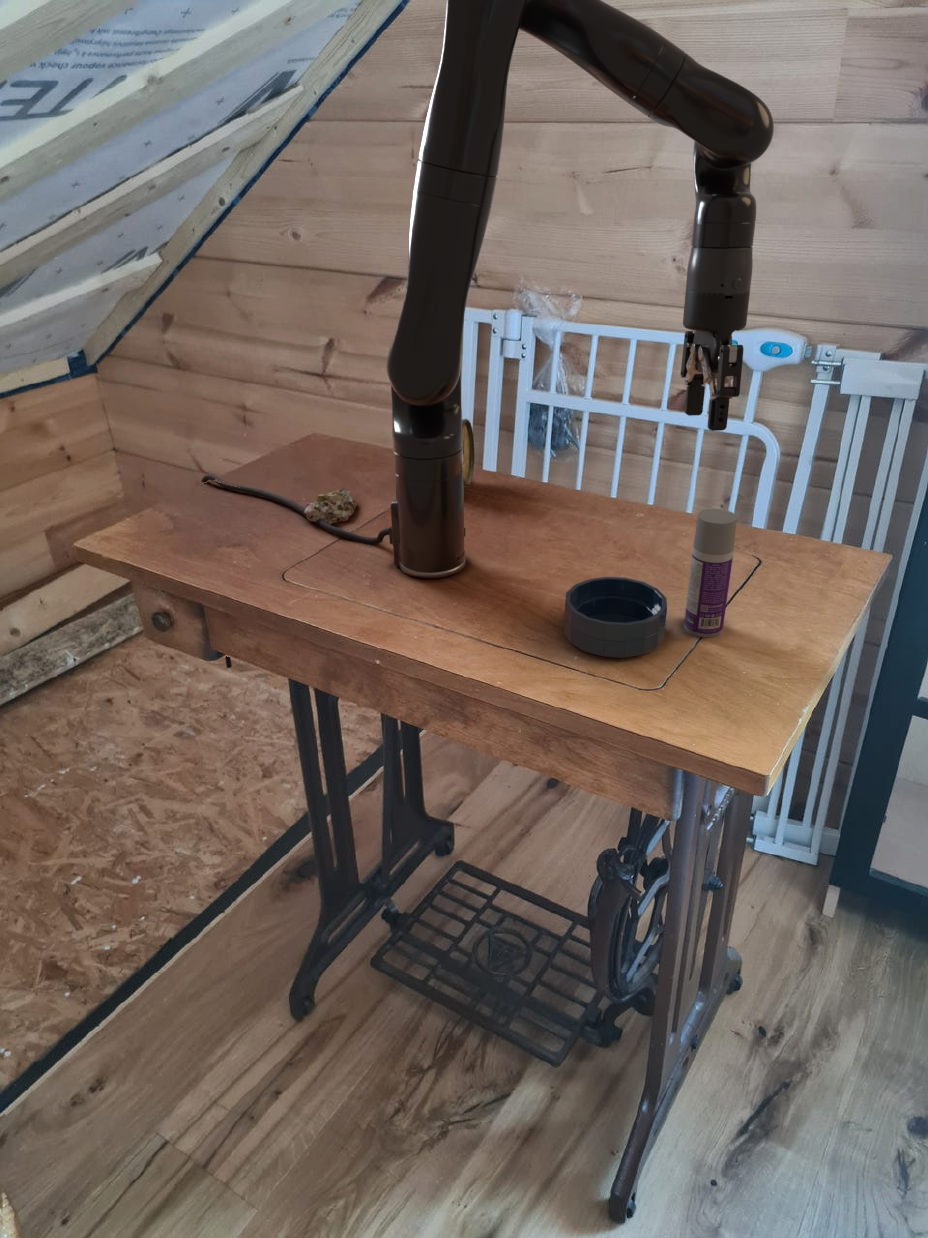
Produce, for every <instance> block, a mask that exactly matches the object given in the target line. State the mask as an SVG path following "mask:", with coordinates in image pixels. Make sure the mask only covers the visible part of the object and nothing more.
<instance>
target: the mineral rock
mask: <svg viewBox="0 0 928 1238" xmlns="http://www.w3.org/2000/svg"><path fill="white" fill-rule="evenodd" d="M356 507H357V503H356V500H355V499H354V495H353V494H352V491H349V490H348V489H346V488H339V489H335V490H333V491H329V492H328V493H326V494H325V493H324V494H323V493H318V495H317V498H316V499H315V501H313V502H309V503H307V504H306V505H305V506H304V508H305V509H304V514H306V515H307V516H305V515H304V517H305V518H306V519H307V520H308V522H309V521H310V522H313V523H316V522H315V521H317V520H319V519H321V520H323V521H325V522H326V523H328V524H330V525H332V524H337V523H340V522H346V521H348V520H349V517H352V515H353V514H354V512H355V511H356Z"/></svg>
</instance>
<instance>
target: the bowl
mask: <svg viewBox="0 0 928 1238" xmlns="http://www.w3.org/2000/svg"><path fill="white" fill-rule="evenodd" d="M667 613H668V601H667V597H666V596H665V594H663V592H662V591H661V590H659V589H658V588H657V587H655V586H653V585H651V584H649V583H647V582H645V581H641V580H637V579H632V578H629V577H618V576H602V577H594V578H589V579H585V580H582V581H581V582H578V583H576V584H573V586H571V587H570V589H568V590H567V591H566V592H565V600H564V620H563V635H564V636H565V637H566V639H567V640H568V642H569V643H570V644H571V645H573V646H574V647H577V648H578V649H580V650H581V651H583V652H586V653H589V654H592V655H594V656H597V657H598V656H599V657H604V658H610V659H623V658H626V659H627V658H632V657H636V656H643V655H645V654H647V653H648V654H649V653H650V652H652V651H654V650H656V649H657V648H659V647H660V645H661V644H662V643H663V641H664V640H665V634H666V633H665V632H666V624H667V623H666V622H667Z"/></svg>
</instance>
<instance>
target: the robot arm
mask: <svg viewBox="0 0 928 1238" xmlns="http://www.w3.org/2000/svg"><path fill="white" fill-rule="evenodd" d="M445 9H446V10H445V22H444V34H443V41H442V50H441V56H440V62H439V68H438V70H437V75H436V79H435V82H434V86H433V90H432V94H431V97H430V101H429V104H428V110H427V114H426V117H425V122H424V126H423V131H422V136H421V140H420V145H419V150H418V155H417V162H416V168H415V176H414V180H413V181H414V182H413V187H412V196H411V207H410V217H409V230H408V231H409V233H408V249H407V250H408V255H407V277H406V284H405V285H406V286H405V291H404V297H403V303H402V306H401V310H400V315H399V318H398V323H397V327H396V331H395V334H394V336H393V338H392V340H391V343H390V345H389V349H388V354H387V358H386V373H387V377H388V380H389V384H390V392H391V393H390V394H391V436H392V450H393V451H392V452H393V467H394V481H395V482H394V483H395V498H396V499H394V500H393V501H391V503H390V518H391V519H390V520H391V526H390V527H387V528H383V529H381V530H380V531H379V532H378V534H377V537H366V536H362V535H357V534H355V533H352V532H349V531H347V530H344V529H341V528H339V527H336V526H334V525H332V524H328V523H326V522H325V521H323V520H321V519H319V520H317V521H315V522H314V523H316V524H317V525H318V526H320V527H321V528H323V529H324V530H327V531H328V532H330V533H332V534H335V535H338V536H340V537H342V538H345V539H347V540H350V541H354V542H358V543H361V544H362V543H363V544H367V545H378V544H380V543H382V542H383V541H384V539H385V537H386V536H388V537H389V544H390V545H392V551H393V565H394V566H396V567H399V568H400V570H401V571H402V572H404V573H405V574H407V575H409V576H412V577H415V578H421V579H440V578H446V577H450V576H453V575H456V574H457V573H460V572H461V571H462V570H463V569H465V566H466V550H465V538H466V536H467V535H466V527H465V502H464V501H465V496H464V495H465V494H464V493H465V492H464V486H463V448H462V419H463V409H462V408H463V407H462V363H461V362H462V360H461V359H462V358H461V357H462V344H463V343H462V342H463V331H464V324H465V323H464V322H465V314H466V306H467V301H468V296H469V291H470V287H471V284H472V280H473V277H474V274H475V271H476V268H477V265H478V262H479V261H478V260H479V258H480V253H481V251H482V247H483V244H484V239H485V236H486V231H487V227H488V223H489V219H490V215H491V211H492V206H493V200H494V197H495V196H494V195H495V190H496V186H497V180H498V175H499V168H500V161H501V155H502V147H503V141H504V140H503V138H504V129H505V119H506V118H505V117H506V106H507V105H506V104H507V91H508V80H509V75H510V74H509V73H510V68H511V63H512V58H513V54H514V49H515V47H516V43H517V38H518V35H519V31H521V32H524V33H526V34H528V35H529V36H532V37H534V38H535V39H537V40H538V41H541V42H542V43H544V44H546V45H547V46H548V47H550V48H552V49H554V50H555V51H557V52H558V53H560V54H561V55H563V56H564V57H566V58H567V59H569V60H570V61H571V62H572V63H574V64H575V65H576V66H578V67H579V68H580V69H581V70H583V71H584V72H586V73H587V74H588V75H590V76H591V77H592V78H594V79H595V80H596V81H598V82H599V83H600V84H601V85H602V86H604V87H606V88H607V89H608V90H610V91H611V92H612V93H613V94H615V95H616V96H617V97H619V98H620V99H621V100H623V101H624V102H626V103H627V104H629V105H630V106H631V107H633V108H634V109H636V110H637V111H639V112H640V113H642V114H643V115H644V116H646V117H647V118H648V119H650V120H652V121H654V122H655V123H657V124H659V125H660V126H661V125H662V126H664V127H668V128H673V129H676V130H678V131H679V132H681V133H683V134H684V135H685V136H687V137H688V138H690V139H691V140H693V141H694V142H693V184H694V195H695V209H694V215H693V224H692V237H691V247H690V253H689V260H688V264H687V269H686V270H687V271H686V281H685V294H684V306H683V317H682V325H683V327H684V328H685V329H687V330H686V331H685V332H684V335H683V336H684V339H683V348H682V356H681V357H682V359H681V366H680V377H681V379H684V385H685V386H686V391H685V402H684V403H685V404H684V414H685V415H687V416H688V417H691V416H693V417H694V416H701V415H702V414H703V411H704V401H705V392H706V391H705V390H706V386H705V385H706V384H707V385H708V387H709V388H708V389H709V394H710V399H709V406H708V417H707V429H708V430H709V431H712V432H715V431H717V432H718V431H725V430H726V429H727V427H728V419H729V410H730V400H732V399H733V398H738V397H739V396H740V393H741V384H742V383H741V381H742V373H743V372H742V371H743V360H744V345H743V344H733V333H734V332H735V331H742V330H743V329H745V328H746V326H747V324H748V323H747V322H748V315H749V314H748V312H749V304H750V295H751V285H752V277H753V261H754V260H753V259H754V258H753V251H754V250H753V249H754V248H753V246H754V240H755V239H754V238H755V237H754V236H755V229H756V222H757V200H756V198H755V195H754V194H753V193H752V191H751V174H752V173H751V171H752V163H754V162H755V161H757V160H758V159H759V158H760V157H762V156H763V155H764V154H765V152H766V151H767V150H768V148H769V147H770V146H771V145H770V144H771V143H772V140H773V136H774V128H775V126H774V119H773V115H772V112H771V110H770V108H769V107H768V106H767V104H766V103H765V102H764V100H762V99H761V97H759V96H758V95H756V94H755V93H754V92H753V91H751V90H749V89H748V88H746V87H744V86H743V85H741V84H739V83H738V82H735V81H733V80H732V79H730V78H728V77H726V76H724V75H722V74H720V73H718V72H716V71H713V70H712V69H709V68H707V67H706V66H704V65H702V64H701V63H699V62H698V61H696V60H695V58H693V57H692V56H691V55H689V54H688V53H687V52H685V50H683V49H681V48H680V47H678V46H677V45H676V44H674V43H673V42H672V41H670V40H669V39H667V38H666V37H665V36H663V35H662V34H661V33H659V32H658V31H655V29H653V28H651V27H650V26H648V25H646V24H645V23H643V22H642V21H640V20H639V19H636V18H634V17H633V16H632V15H631V16H630V15H629V14H627V13H626V12H623V11H622V10H620V9H618V8H616V7H615V6H612V5H610V4H608V3H606V2H605V1H603V0H446V7H445ZM217 478H218V477H217V476H216V475H214V474H210V473H209V474H206V475H203V477H202V478H201V480H200V483H207V482H209V481H212V482H214V483H215V484H217V485H218V486H220V487H222V488H224V489H227V490H231V491H236V492H241V493H246V494H247V493H248V494H251V495H256V496H260V497H263V498H266V499H270V500H272V501H275V502H277V503H280V504H282V505H285V506H287V507H289V508H291V509H293V510H295V511H297V512H298V513H300V514H302V515H303V516H304V517H305V516H307V515H306V514H304V509H305V507H303V506H301V505H300V504H298V503H296V502H295V501H292V500H290V499H288V498H285V497H283V496H281V495H278V494H275V493H274V492H273V493H272V492H269V491H266V490H263V489H259V488H254V487H250V486H244V485H241V484H240V485H239V484H236V485H237V486H238V487H234V486H230V485H226V484H222V483H218V482H215V481H213V480H215V479H217ZM219 480H222V479H220V478H219V479H218V481H219ZM222 481H223V480H222ZM222 481H221V482H222ZM231 484H232V485H234V483H231ZM239 487H240V488H239ZM224 659H225V665H226V668H227V669H231V668H232V666H233V665H232V659H231V656H230V657H227V656H226V657H225V656H224Z"/></svg>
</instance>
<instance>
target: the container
mask: <svg viewBox="0 0 928 1238" xmlns="http://www.w3.org/2000/svg"><path fill="white" fill-rule="evenodd" d="M737 521H738V516H737V515H736V513H734V512H733V511H730V510H726V509H723V508H706V509H703V510H700V511H699V512H698V513H697V517H696V522H695V531H694V538H693V544H692V550H691V551H692V552H691V560H690V567H689V568H690V569H689V576H688V577H689V578H688V585H687V586H688V587H687V594H686V595H687V596H686V603H685V612H684V613H685V614H684V622H683V628H684V630H685V631H686V632H687V633H688V634H690V635H692V636H695V637H699V638H715V637H718V636H720V635H721V634H722V633H723V631H724V630H723V629H724V622H725V618H726V617H725V616H726V608H727V601H728V595H729V587H730V580H731V572H732V564H733V560H734V550H735V539H736V532H737Z"/></svg>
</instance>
